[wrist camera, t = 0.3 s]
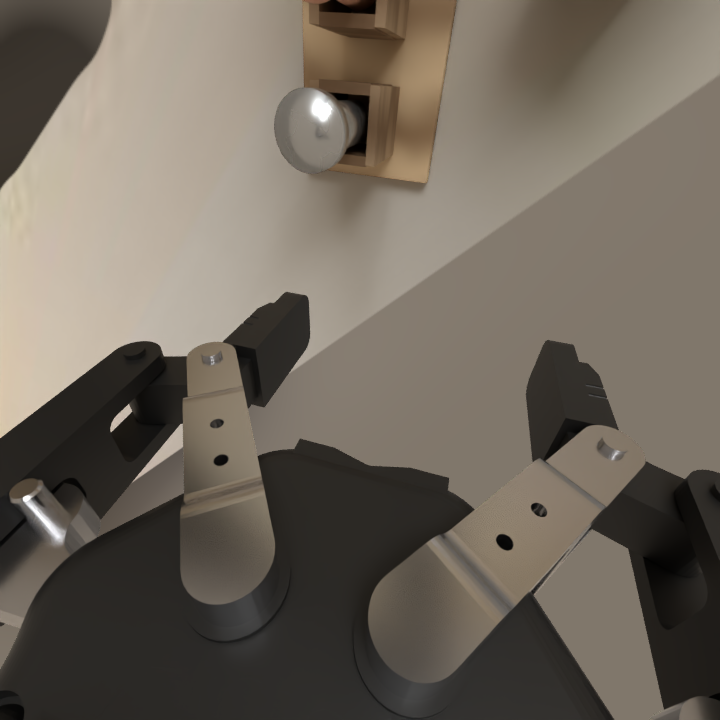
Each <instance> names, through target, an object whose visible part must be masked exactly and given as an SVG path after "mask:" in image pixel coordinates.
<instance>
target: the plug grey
mask: <svg viewBox="0 0 720 720" xmlns="http://www.w3.org/2000/svg"><path fill="white" fill-rule="evenodd" d="M368 118H369V111H368V109H367V107H366V106H365V105H364V104H363V103H362V102H360V101H358V100H337V99H336V98H335V97H334V96H333V95H331V94H330V93H329V92H327V91H325V90H322V89H319V88H298V89H295V90H293V91H291V92H290V93H288V94H287V95H286V96H285V97H284V98H283V99H282V101H281V102H280V104H279V106H278V108H277V111H276V115H275V122H274V130H275V137H276V141H277V144H278V147H279V149H280V151H281V153H282V155H283V156H284V158H285V159H286V160H287V161H288V163H290V164H291V165H292V166H293V167H294V168H296V169H297V170H299V171H302V172H304V173H310V174H315V173H320V172H323V171H325V170H327V169H329V168H331V167H333V166H334V165H336V164H337V163H338V162H339V161H340V160H341V158H342V157H343V155H344V153H345V151H346V149H347V148H349V147H351V146H354V145H357V144H359V143H361V142H363V141H364V140H365V139H366V138H367V132H368Z"/></svg>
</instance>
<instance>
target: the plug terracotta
mask: <svg viewBox="0 0 720 720" xmlns="http://www.w3.org/2000/svg"><path fill="white" fill-rule="evenodd" d="M303 1H305V2H308V3H312V4H321V3H325V2H327V1H329V0H303ZM337 1H338V2H340V3H342V4H344V5H345V6H347V7H349V8H351V9H352V10H355V11H363V10H365V9H367V8H369V7H370V6H371V5H372V4H373V3H374V2H375V0H337Z"/></svg>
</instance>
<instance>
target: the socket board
mask: <svg viewBox="0 0 720 720" xmlns="http://www.w3.org/2000/svg"><path fill="white" fill-rule="evenodd" d="M456 3H457V0H375V2H374V3H373V4H372V5H371V6H370V7H369V8H367V9H365V10H363V11H355V10H352V9H351V8H349V7H347V6H345V5H344V4H342V3H340V2H338V1H337V0H329V1H327V2H325V3H321V4H312V3H308V2H305V1H303V53H304V88H319V89H322V90H325V91H327V92H329V93H330V94H331V95H333V96H334V97H335V98H336V99H337V100H358V101H360V102H362V103H363V104H364V105H365V106H366V107H367V109H368V111H369V118H368V132H367V138H366V139H365V140H364V141H363V142H361V143H359V144H357V145H354V146H351V147H349V148H347V149H346V151H345V153H344V155H343V157H342V158H341V160H340V161H339V162H338V163H337V164H336V165H334V166H333V167H331V168H329V169H327V170H330V171H338V172H345V173H353V174H360V175H368V176H376V177H383V178H391V179H398V180H406V181H413V182H421V183H427V181H428V176H429V170H430V164H431V157H432V151H433V145H434V139H435V133H436V126H437V120H438V114H439V108H440V102H441V96H442V89H443V83H444V77H445V71H446V65H447V58H448V52H449V46H450V40H451V34H452V28H453V21H454V15H455V9H456Z"/></svg>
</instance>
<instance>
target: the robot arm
mask: <svg viewBox="0 0 720 720" xmlns="http://www.w3.org/2000/svg"><path fill="white" fill-rule="evenodd" d="M309 339H310V319H309V300H308V297H307V296H306V295H301V294H295V293H290V292H285V293H284V294H283V295H282V296H281V297H280V298H279V299H278V300H277V301H276V302H275V303H269V304H266V305H264V306H262V307H260V308H258V309H257V310H256V311H255V312H254V313H253V314H252V315H251V316H250V318H249V317H248V318H247V319H246V320H245V321H244V323H243V324H241V325H240V326H239V327H238V328H237V329H236V330H235V331H234V332H233V333H232V334H230V335H229V336H228V337H227V338H226V339H225V340H224V341H223V342H210V343H206V344H202V345H200V346H198V347H196V348H194V349H193V350H192V351H190V353H189V354H188V356H182V357H164V356H163V353H162V350H161V347H160V346H159V345H158V344H156V343H154V342H148V341H141V342H134V343H130V344H127V345H124V346H122V347H120V348H118V349H117V350H115V351H114V352H112V353H111V354H110V355H109V356H107V357H106V358H105V359H103V360H102V361H101V362H99V363H98V364H97V365H95V366H94V367H93V368H92V369H90V370H89V371H88V372H86V373H85V374H84V375H82V376H81V377H80V378H78V379H77V380H76V381H75V382H73V383H72V384H71V385H69V386H68V387H67V388H65V389H64V390H63V391H62V392H60V393H59V394H58V395H56V396H55V397H54V398H52V399H51V400H50V401H48V402H47V403H46V404H45V405H43V406H42V407H41V408H39V409H38V410H37V411H35V412H34V413H33V414H32V415H30V416H29V417H28V418H26V419H25V420H24V421H22V422H21V423H20V424H18V425H17V426H16V427H15V428H13V429H12V430H11V431H9V432H8V433H7V434H5V435H4V436H3V437H1V438H0V626H2V625H4V624H9V625H12V626H15V627H18V628H20V631H19V633H18V635H17V638H16V640H15V642H14V644H13V646H12V648H11V650H10V653H9V655H8V657H7V658H6V660H5V662H4V664H3V666H2V667H1V669H0V720H614V718H613V717H612V715H611V714H610V712H609V711H608V709H607V708H606V706H605V705H604V703H603V701H602V700H601V699H600V697H599V696H598V694H597V692H596V691H595V689H594V688H593V686H592V685H591V683H590V681H589V680H588V679H587V677H586V675H585V674H584V672H583V671H582V670H581V668H580V666H579V665H578V663H577V661H576V660H575V658H574V657H573V655H572V654H571V652H570V651H569V649H568V648H567V646H566V645H565V643H564V642H563V640H562V638H561V637H560V635H559V634H558V633H557V631H556V629H555V628H554V626H553V625H552V623H551V621H550V620H549V619H548V617H547V615H546V614H545V612H544V611H543V609H542V608H541V606H540V605H539V603H538V601H537V600H536V599H535V597H534V596H535V594H536V593H537V592H538V591H539V590H540V589H541V587H542V586H543V585H544V584H545V583H546V581H547V580H548V579H549V578H550V577H551V576H552V574H553V573H554V572H555V571H556V570H557V569H558V567H559V566H560V565H561V564H562V563H563V562H564V560H566V558H567V557H568V556H569V555H570V554H571V553H572V552H573V551H574V549H575V548H576V547H577V546H578V544H580V543H581V542H582V540H583V539H584V538H585V537H586V536H587V535H588V534H589V532H590V531H591V530H592V529H593V530H595V531H597V532H599V533H601V534H602V535H604V536H606V537H608V538H610V539H612V540H614V541H615V542H617V543H619V544H621V545H623V546H625V547H626V548H628V549H629V554H630V558H631V563H632V567H633V571H634V576H635V581H636V585H637V590H638V594H639V599H640V603H641V608H642V612H643V617H644V621H645V626H646V631H647V634H648V640H649V644H650V648H651V653H652V658H653V662H654V666H655V671H656V676H657V680H658V685H659V689H660V694H661V698H662V702H663V707H664V710H663V711H660V712H658V713H656V714H654V715H653V716H652V717H651V718H650V719H649V720H720V473H717V472H714V471H709V470H696V471H693V472H692V473H690V475H689V476H688V477H687V478H686V479H683V478H681V477H678V476H676V475H674V474H671V473H669V472H667V471H665V470H663V469H660V468H658V467H656V466H654V465H652V464H650V463H648V462H646V458H645V454H644V452H643V450H642V449H641V447H640V446H639V445H638V444H637V443H636V442H635V441H634V440H633V439H632V438H631V437H629V436H627V435H626V434H624V433H623V432H621V431H619V429H618V427H617V424H616V421H615V418H614V415H613V413H612V410H611V407H610V404H609V402H608V400H607V399H606V398H607V396H606V393H605V391H604V389H603V385H602V382H601V379H600V376H599V375H598V374H597V373H596V372H595V370H594V369H593V368H592V367H591V366H590V365H589V364H587V363H582V362H579V361H578V357H577V354H576V351H575V348H574V345H572V344H567V343H561V342H555V341H550V340H547V341H546V342H545V343H544V345H543V347H542V350H541V352H540V354H539V357H538V359H537V361H536V364H535V366H534V368H533V371H532V373H531V376H530V378H529V381H528V385H527V390H526V400H527V410H528V420H529V430H530V440H531V450H532V460H533V463H531V464H530V465H529V466H528V467H527V468H525V469H524V470H523V471H522V472H521V473H519V474H518V475H517V476H516V477H514V478H513V479H512V480H511V481H509V482H508V483H507V484H506V485H505V486H503V487H502V488H501V489H500V490H499V491H497V492H496V493H495V494H493V495H492V496H491V497H490V498H489V499H487V500H486V501H485V502H484V503H483V504H481V505H480V506H479V507H478V508H476V509H475V510H474V509H473V508H472V507H471V506H470V505H469V504H468V503H467V502H465V501H464V500H463V499H461V498H460V497H458V496H457V495H455V494H454V493H451V492H450V491H448V483H449V478H447V477H443V476H439V475H435V474H431V473H428V472H424V471H420V470H417V469H413V468H403V467H382V466H369V465H366V464H364V463H362V462H360V461H359V460H357V459H354V458H353V457H351V456H349V455H347V454H345V453H343V452H341V451H339V450H338V449H336V448H333V447H329V446H326V445H322V444H318V443H314V442H310V441H307V440H303V439H300V440H299V442H298V443H297V445H296V447H295V449H287V450H278V451H272V452H268V453H265V454H262V455H259V456H257V452H256V447H255V442H254V437H253V432H252V427H251V422H250V417H249V412H248V408H249V407H250V406H251V404H253V405H257V406H261V407H265V406H266V404H267V403H268V402H269V400H270V399H271V397H272V396H273V395H274V393H275V392H276V390H277V389H278V388H279V386H280V385H281V383H282V382H283V381H284V379H285V378H286V376H287V375H288V374H289V372H290V371H291V369H292V368H293V367H294V365H295V364H296V362H297V361H298V360H299V358H300V357H301V355H302V354H303V353H304V351H305V350H306V348H307V346H308V343H309ZM128 404H129V405H130V407H131V409H132V413H131V414H130V415H129V416H128V417H127V418H125V419H124V420H123V421H122V422H121V423H120V424H119V425H118V426H117V427H116V428H115V429H114V430H113V431H112V432H110V427H111V423H112V421H113V419H114V418H115V416H116V415H117V414H118V413H119V412H121V411H122V410H123V409H124V408H125V407H126V406H127V405H128ZM180 424H183V457H184V458H183V463H184V464H183V465H184V493H183V494H181V495H179V496H178V497H176V498H174V499H172V500H170V501H168V502H166V503H164V504H162V505H160V506H158V507H156V508H154V509H152V510H150V511H148V512H146V513H144V514H142V515H140V516H139V517H136V518H134V519H133V520H130V521H128V522H126V523H124V524H122V525H121V526H119V527H117V528H115V529H113V530H111V531H109V532H107V533H105V534H103V535H101V536H99V537H97V536H98V533H99V531H100V525H101V522H100V519H102V517H103V516H104V515H105V514H106V513H107V511H108V510H109V509H110V508H111V507H112V505H113V504H114V503H115V502H116V501H117V499H118V498H119V497H120V496H121V494H122V493H123V492H124V491H125V490H126V489H127V487H128V486H129V485H130V484H131V483H132V481H133V480H134V479H135V478H136V477H137V475H138V474H139V473H140V472H141V471H142V469H143V468H144V467H145V466H146V465H147V463H148V462H149V461H150V460H151V459H152V457H153V456H154V455H155V454H156V453H157V451H158V450H159V449H160V448H161V447H162V445H163V444H164V443H165V442H166V441H167V439H168V438H169V437H170V436H171V435H172V433H173V432H174V431H175V430H176V429H177V427H178V426H179V425H180Z"/></svg>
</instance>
